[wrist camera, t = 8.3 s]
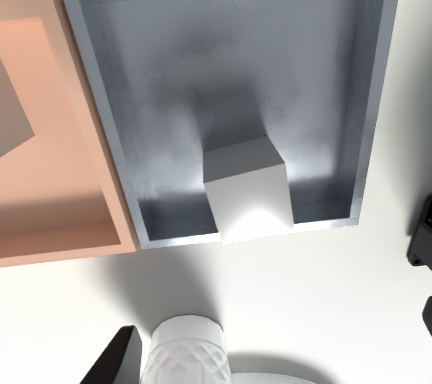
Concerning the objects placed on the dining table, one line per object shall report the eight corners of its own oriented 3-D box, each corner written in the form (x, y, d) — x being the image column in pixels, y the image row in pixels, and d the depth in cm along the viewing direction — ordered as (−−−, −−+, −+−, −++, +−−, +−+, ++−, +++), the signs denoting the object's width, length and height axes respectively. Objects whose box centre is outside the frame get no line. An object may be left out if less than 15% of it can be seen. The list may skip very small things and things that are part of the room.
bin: (374, -46, 13) (409, -62, 11) (340, 203, 20) (357, 224, 17) (82, -9, 13) (58, -17, 11) (148, 225, 20) (141, 249, 18)
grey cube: (267, 135, 17) (285, 163, 13) (277, 192, 19) (294, 228, 15) (202, 152, 17) (203, 183, 13) (218, 206, 19) (222, 245, 15)
